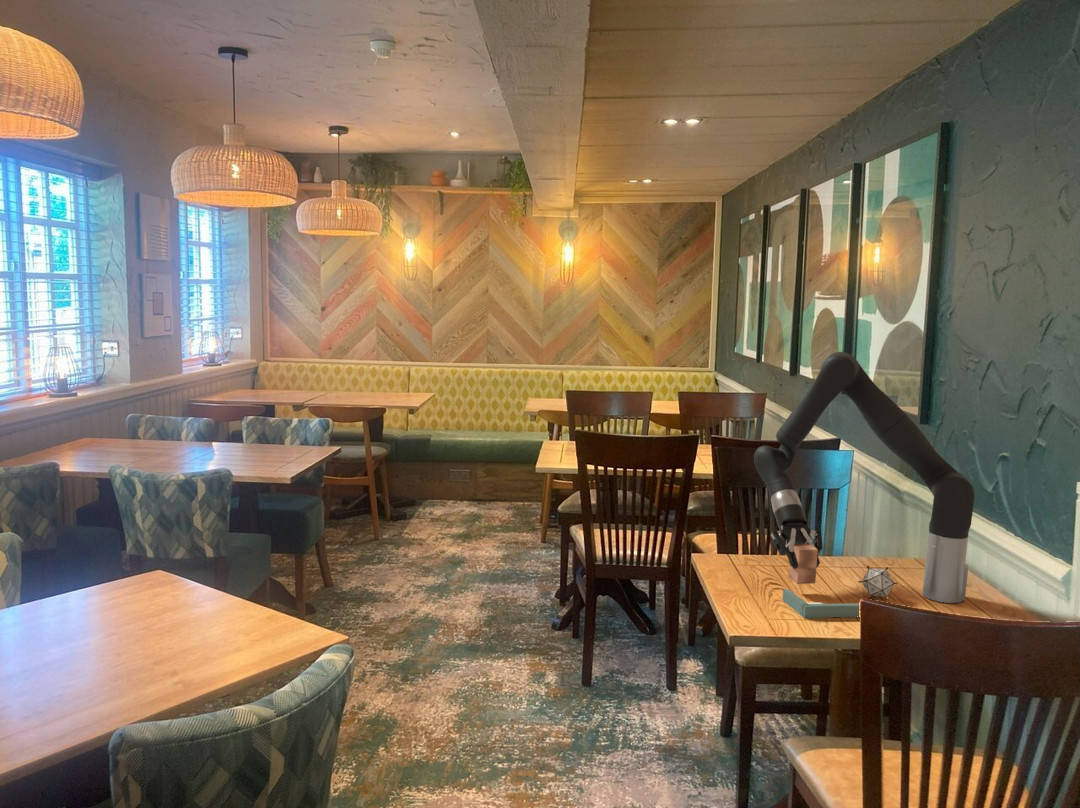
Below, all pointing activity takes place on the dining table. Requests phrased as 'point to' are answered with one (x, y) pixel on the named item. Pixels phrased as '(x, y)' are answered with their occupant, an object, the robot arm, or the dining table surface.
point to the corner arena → (819, 607)
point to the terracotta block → (804, 564)
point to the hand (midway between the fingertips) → (806, 566)
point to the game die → (877, 582)
